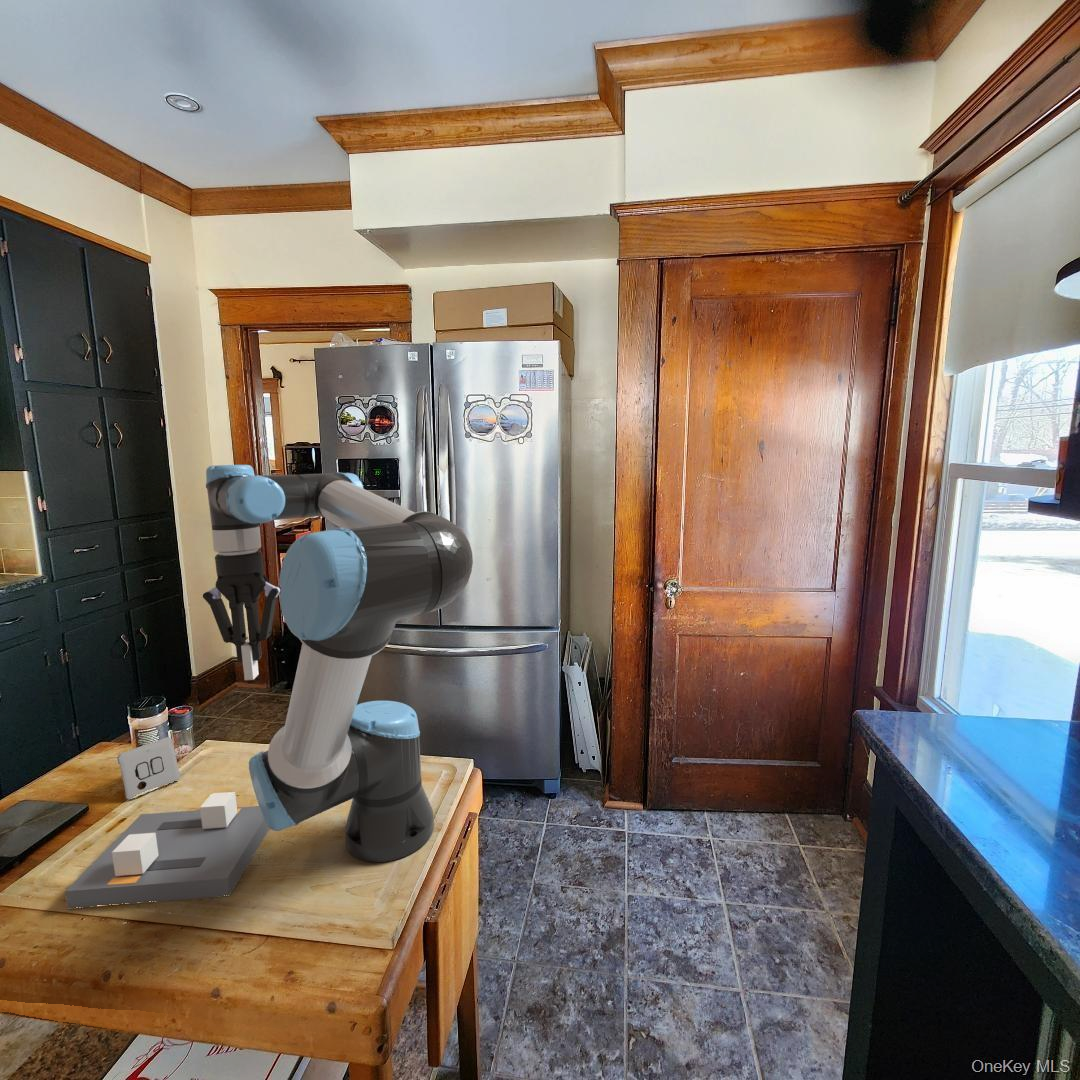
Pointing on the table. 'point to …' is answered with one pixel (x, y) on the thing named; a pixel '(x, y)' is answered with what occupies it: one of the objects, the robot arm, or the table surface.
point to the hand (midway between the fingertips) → (251, 677)
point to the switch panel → (175, 860)
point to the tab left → (135, 854)
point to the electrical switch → (148, 767)
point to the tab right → (218, 810)
